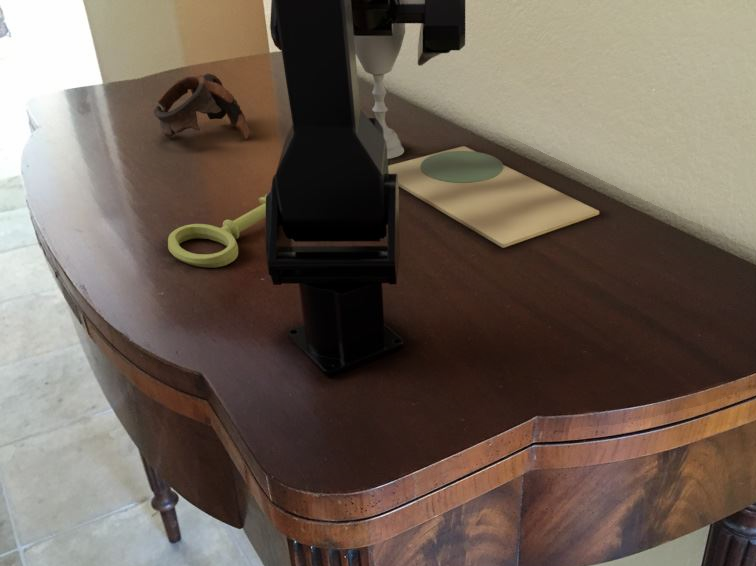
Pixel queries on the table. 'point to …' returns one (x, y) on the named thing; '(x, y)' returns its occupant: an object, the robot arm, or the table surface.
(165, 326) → the table surface
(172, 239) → the key
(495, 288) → the table surface
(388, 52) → the chalice
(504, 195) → the place mat
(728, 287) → the table surface
